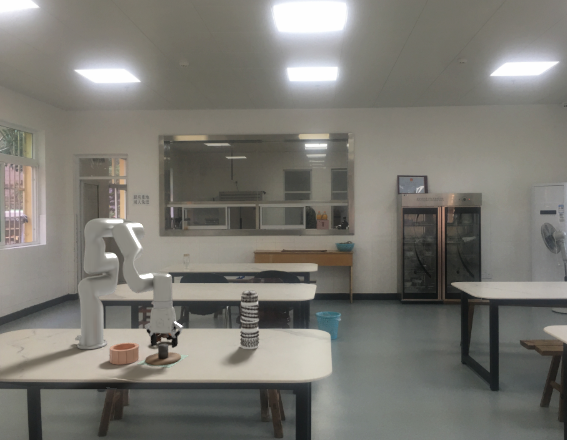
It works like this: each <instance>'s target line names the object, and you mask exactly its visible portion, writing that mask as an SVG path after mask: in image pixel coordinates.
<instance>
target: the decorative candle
mask: <svg viewBox="0 0 567 440" xmlns="http://www.w3.org/2000/svg"><path fill="white" fill-rule="evenodd" d="M258 295H259V293H257V292H256V291H255V290H244V291H243V292H242V293H241V294H240V297H241V299H240V304H239V305H238V306H239V307H240V308H239V315H240V317H239V319H240V322H241V325H240V326H241V327H240V338H239V340H240V348H241V349H244V350H255V349H258V348H259V347H260V345H259V343H260V337H259V336H260V334H259V333H260V331H259V321H260V312H259V310H260V304H259V300H258V299H259V297H258Z"/></svg>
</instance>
